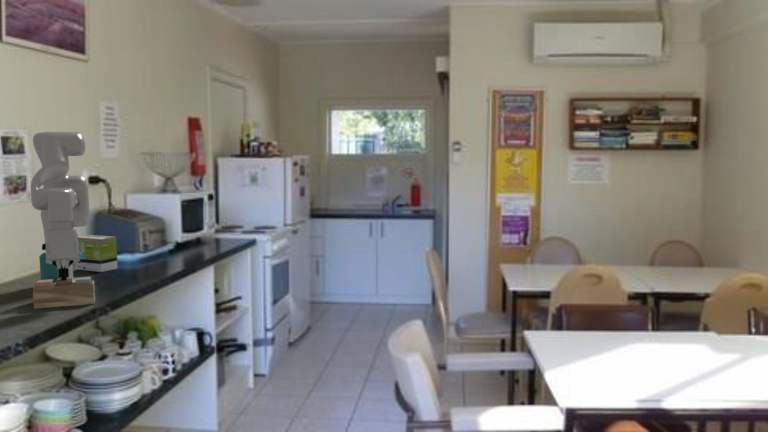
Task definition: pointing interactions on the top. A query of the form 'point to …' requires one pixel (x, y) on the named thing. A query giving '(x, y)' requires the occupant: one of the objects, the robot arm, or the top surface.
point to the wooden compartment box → (64, 295)
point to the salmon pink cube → (44, 283)
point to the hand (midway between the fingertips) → (64, 279)
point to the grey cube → (83, 280)
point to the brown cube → (64, 282)
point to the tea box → (97, 253)
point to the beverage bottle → (47, 268)
